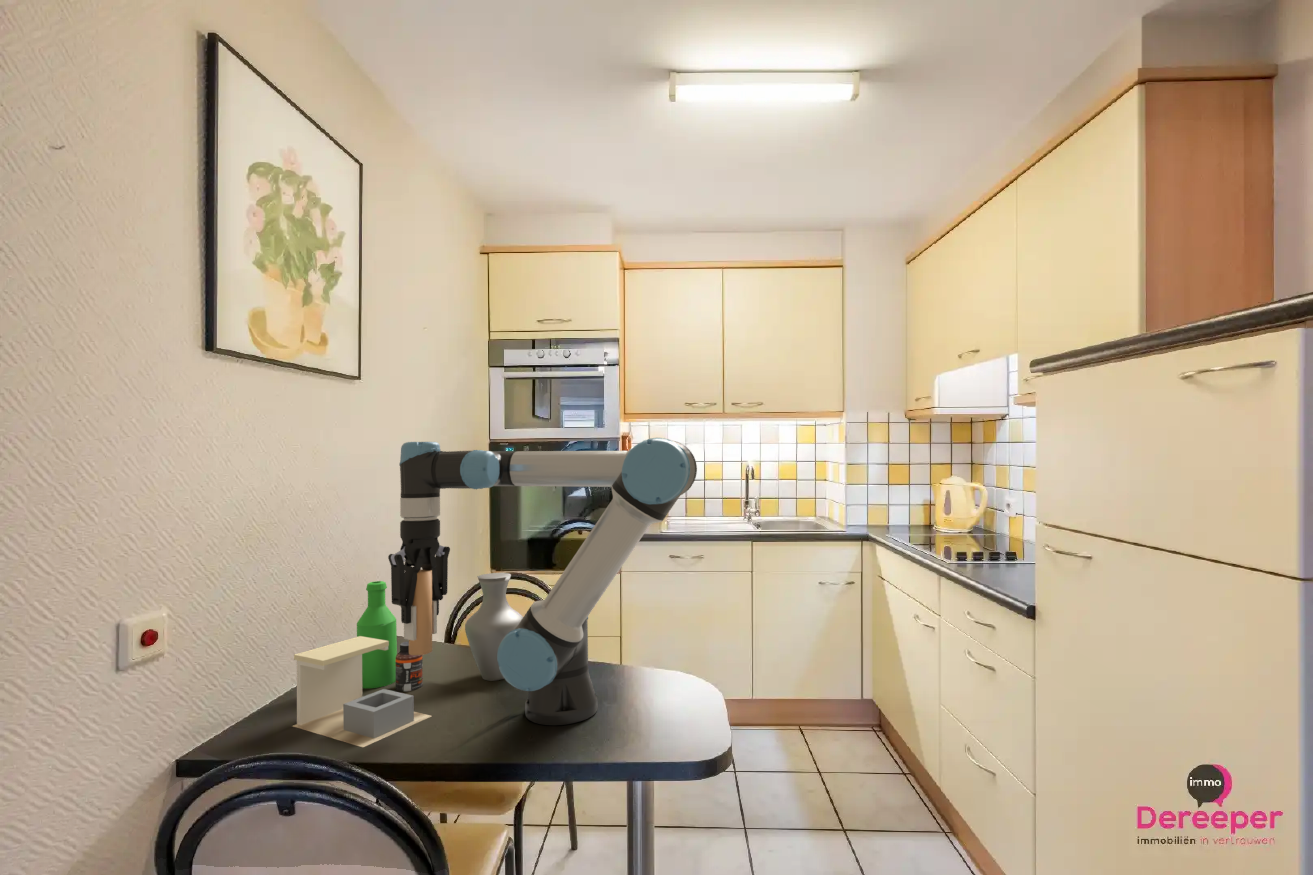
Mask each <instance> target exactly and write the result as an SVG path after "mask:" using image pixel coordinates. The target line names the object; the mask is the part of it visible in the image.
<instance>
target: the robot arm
mask: <svg viewBox="0 0 1313 875" xmlns="http://www.w3.org/2000/svg"><path fill="white" fill-rule="evenodd" d="M399 461H400V462H399V471H400V472H399V474H400V476H399V477H400V500H399V504H400V505H399V508H400V512H399V513H400V517H401V518H402V520H401V521H400V522H399V524H400V525H399V527H400V528H399V530H400V531H399V533H400V534H399V535H400V536H399V537H400V538H401V541H402V543H401V546H400V550H398V551H397V552H395V553H390V554H388V557H387V558H388V561H389V565H390V573H391V574H390V575H391V576H390V577H391V578H390V579H391V580H390V584H391V588H390V589H391V604H393V605H395V606H400V612H401V613H400V615H401V616H400V620H401V624H403V639H404V640H408V641H409V640H416V606H412V605H413V600H414V594H415V589H416V583H417V573H418V572H419V571H420V570H421V569H423V570H432V635H436V634H438V632H437V631H438V628H437V627H438V619H437V618H438V616H439V612H440V601H442V600H443V599H444V596H446V595H447V594H448V582H449V581H448V574H449V573H448V571H449V570H448V569H449V568H448V566H449V562H448V561H449V560H448V558H449V555H450V551H451V548H450V547H449V546H443V545H440V542H439V539H438V538H439V537H440V536H441V520H440V519H439V518H438V517H439V516H441V489H443V490H445V489H458V490H459V489H460V490H461V489H464V490H465V489H468V490H469V489H470V490H471V489H472V490H480V489H481V490H482V489H489V488H492V487H587V488H588V487H589V488H590V487H592V488H593V487H598V488H599V487H603V488H608V487H609V488H611V493H612V499H611V501H610V502H609V504H608V505H607V507H606V508H605V509H604V511H603V512H602V514H601V515H600V517H599V519H598V521H597V522H596V523H595V524H594V525H593V527H592V529H591V530H590V532H589V533H588V535H587V537H586V538H585V540H584V541H583V542H582V544H581V545H580V546H579V548H578V549H577V551H576V553H575V554H574V556H573V557H572V559H571V560H570V561H569V563H568V564H567V566H566V567H565V569H564V571H563V572H562V574H561V575H560V577H558V580H557V581H556V582H555V584H554V586H553V587H552V588H551V589H550V591H549V593H548V594H547V596H546V597H545V599H541V600H537V601H534V602H533V603H532V604H531V605H530V606H529V608H528V610H527V611H526V613H524V615H523V618H522V620H521V621H520V623H519V624H518V626H517V627H516V628H515V629H514V630H512V631H510V632H509V633H508V634H507V635H506V636H505V637H504V639H503V640H502V641H501V643H500V645H499V648H498V652H497V661H498V665H499V669H500V672H501V674H502V675H503V677H504V678H505V679H504V680H505V681H506V683H508V684H509V685H511V686H512V687H513V688H515V689H518V690H520V691H522V692H523V691H524V692H528V694H527V698H526V700H525V705H524V707H525V709H524V710H525V717H526V718H527V719H528V721H530V722H533V723H535V724H539V725H544V726H563V725H564V726H566V725H571V724H575V723H579V722H582V721H585V720H588V719H589V718H591V717H593V716H594V715H595V714H596V713H597V711H598V696H597V694H596V692H595V688H594V686H593V682H592V679H591V676H590V673H589V640H588V638H589V636H588V635H589V634H588V632H589V630H588V629H589V628H588V624H589V623H588V620H589V615H590V614H591V612H592V611H593V610H594V608H595V607H596V605H597V604H598V602H599V601H600V600H601V598H602V596H603V595H604V593H605V592H606V591H607V589H608V588H609V587H610V584H611V583H612V582H613V580H614V579H615V577H616V576H617V574H619V571H620V570H621V569H622V567H623V566H624V564H625V563H626V561H627V560H628V558H629V557H630V555H631V554H632V552H633V551H634V550H635V548H636V547H637V545H638V543H639V542H640V540H641V539H642V538H643V537H644V535H645V534H646V532H647V530H648V529H649V527H651V525H652V524H656V523H663V521H664V520H665V518H666V517H667V516H668V515H669V512H670V511H671V509H673V507H674V505H675V504H676V502H677V501H678V499H679V498H680V497H681V496H682V495H684V494H685V493H686V492H687V491H689V490H690V489H691V487H692V486H693V484H694V483H695V481H696V477H697V474H698V465H697V460H696V459H695V455H694V454H693V453H692V451H691V449H689V447H687V446H686V445H685V444H683V443H681V442H679V441H675V440H672V439H669V438H665V437H653V438H652V437H651V438H648V439H645V440H642V441H641V442H639V443H637V444H636V445H633V446H632V447H631V448H629V450H553V451H552V450H551V451H550V450H549V451H548V450H546V451H545V450H543V451H542V450H540V451H537V450H535V451H532V450H530V451H527V450H523V451H518V450H517V451H510V450H509V451H506V450H505V451H504V450H503V451H502V450H498V451H497V450H494V451H491V450H482V449H472V450H454V451H450V450H449V451H447V450H446V451H444V450H441V445H440V443H439V442H438V441H407V442H404V443H403V444H402V445H401V447H400V460H399Z"/></svg>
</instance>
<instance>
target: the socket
mask: <svg viewBox="0 0 1313 875" xmlns="http://www.w3.org/2000/svg"><path fill="white" fill-rule="evenodd" d="M414 712H415V698H414V695H411V694H407V693H403V692H400V691H396V690H391V689H386V688H383V689H380V690H377V691H374V692H372V693H369V694H366V695H362V697H361V698H358V699H355V700H353V701H350V702H347V703H345V704H343V723H344V730H346V731H349V732H353V733H356V734H360V735H363V736H367V737H370V738H374V739H375V738H377V737H379V736H381V735H383V734H386V733H388V732H390V731H392V730H395V729H397V728H399V727H401V726H404V725H406V724H408V723H410V722H412V721H414Z"/></svg>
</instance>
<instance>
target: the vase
mask: <svg viewBox="0 0 1313 875" xmlns="http://www.w3.org/2000/svg"><path fill="white" fill-rule="evenodd" d="M511 577H512V574H511V573H507V572H493V573H490V572H489V573H483V574H481V575H477V577H476V578H477V579H478V582H479V584H480V587H481V591H482V597H483V598H482V601H481V605H480V607H479V608H478V609H477V611H476V612H474V613H473V614H472V615H471V616H470V617H469V618H468V619H467V620H465V624H464V632H465V635H466V638H467V642H468V645H469V647H470V648H469V649H470V651H471V654H472V657H473V659H474V662H475V665H476V667H477V670H478V671H479V673H480V676H481V677H482V679H483V680H485V681H499V680H506V679H505V678H504V677H503V675H502V674H501V672H500V669H499V665H498V661H497V652H498V648H499V645H500V643H501V641H502V640H503V639H504V637H505V636H506V635H507V634H508V633H509V632H510V631H512V630H514V629H515V628H516V627H517V626H518V624H519V623H520V621H521V620H522V618H523V617H524V615H522V614H521V613H519V611H517V610H516V609H514V608H513V607H511V605H510V604H509V602H508V600H507V594H506V593H507V589H508V586H509V581H510V580H511Z"/></svg>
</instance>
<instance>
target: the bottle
mask: <svg viewBox="0 0 1313 875" xmlns="http://www.w3.org/2000/svg"><path fill="white" fill-rule="evenodd" d="M387 588H388V586H387V583H386V581H384V580H377V581H370V582H368V583H367V584H366V589H365V590H366V591H367V607H366V609H365V610H364V612H363V613H362V614H361V616H360V618H359V619H358V621H357V623H356V637H359V636H363V637H368V638H374V639H380V640H386V641H389V646H388V650H380V649H377V650H373V651H370V652H367V653H364V654H362V689H377V688H382V687H387V686H390V685H392V684H395V683H396V673H395V672H396V655H397V654H398V650H397V648H398V647H397V646H398V645H397V644H398V641H397V639H398V638H397V637H398V636H397V630H398V628H397V618H396V616H395V615H394V613H392V611H391V610H390V609H389V607H388V606H387V604H386V589H387Z"/></svg>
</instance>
